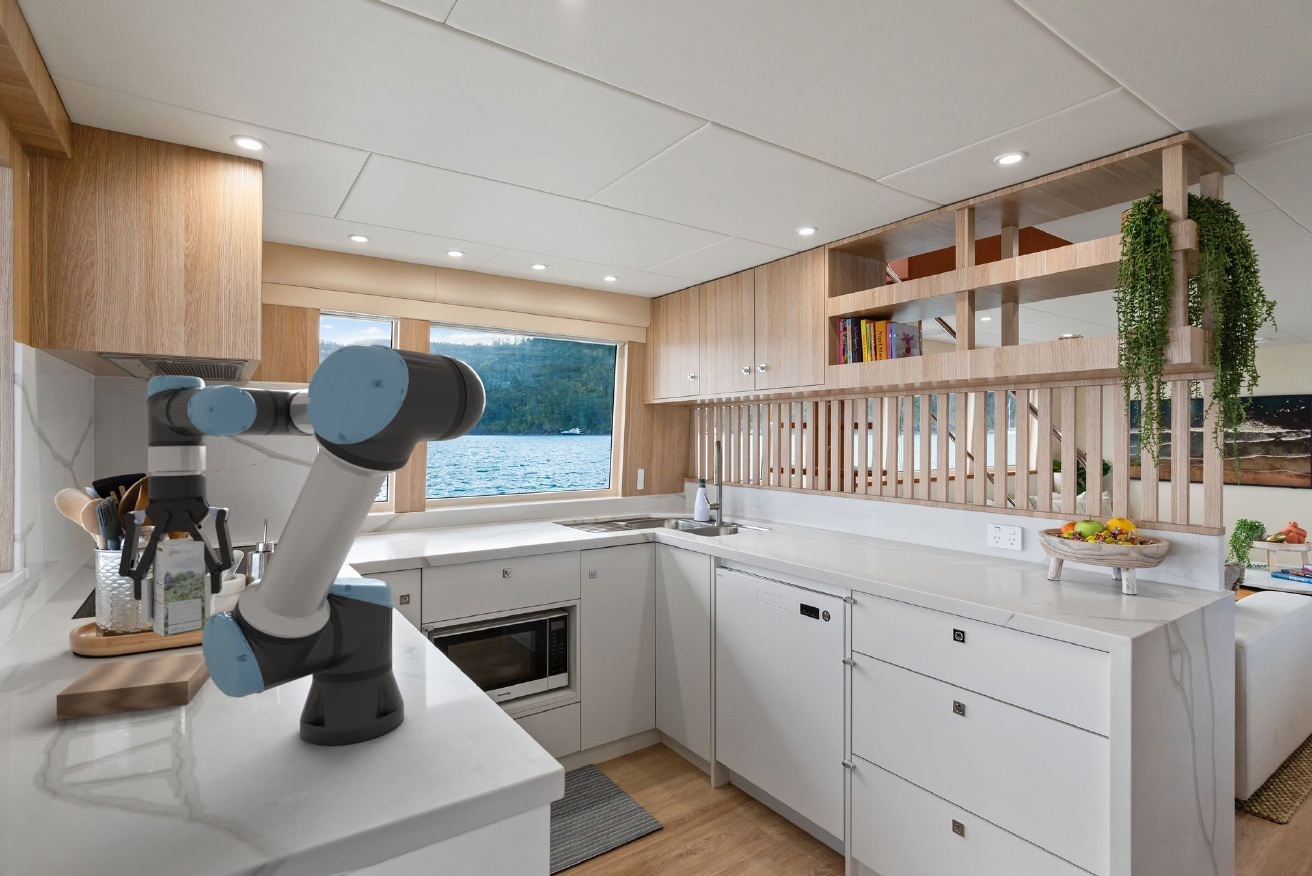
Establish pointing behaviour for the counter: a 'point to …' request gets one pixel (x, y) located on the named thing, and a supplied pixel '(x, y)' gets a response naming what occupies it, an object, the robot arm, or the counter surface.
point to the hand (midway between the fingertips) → (179, 616)
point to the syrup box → (178, 587)
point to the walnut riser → (133, 686)
